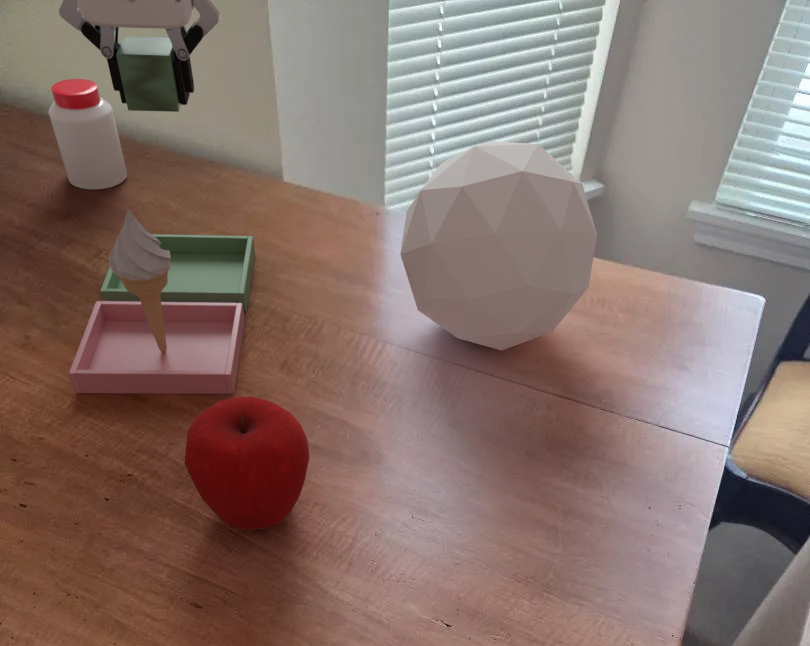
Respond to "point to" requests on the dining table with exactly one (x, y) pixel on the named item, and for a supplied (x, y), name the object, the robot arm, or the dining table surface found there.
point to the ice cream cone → (142, 271)
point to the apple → (247, 461)
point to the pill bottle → (86, 135)
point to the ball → (499, 244)
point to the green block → (148, 74)
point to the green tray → (198, 270)
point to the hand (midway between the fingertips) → (156, 97)
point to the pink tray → (143, 361)
